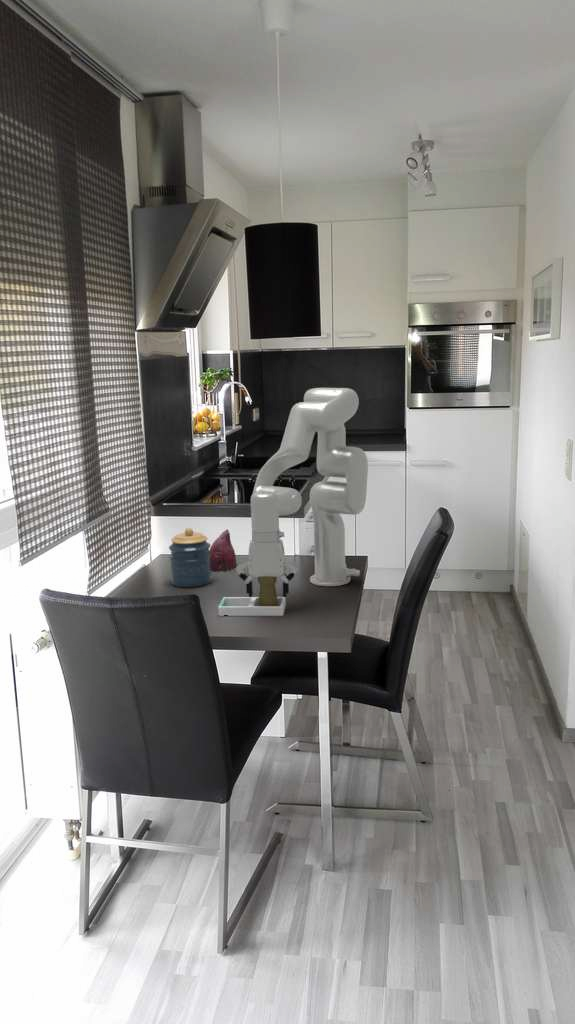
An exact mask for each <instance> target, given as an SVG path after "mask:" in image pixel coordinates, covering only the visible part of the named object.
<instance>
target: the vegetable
mask: <svg viewBox="0 0 575 1024" xmlns="http://www.w3.org/2000/svg"><path fill="white" fill-rule="evenodd" d="M209 553H210V554H211V557H210V559H211V570H212V571H211V572H215V571H224V572H227V570H229V571H232V570H231V569H234V568H236V567H237V566H238V565H237V559H236V558H237V556H236V551H235V550H234V547H233V545H232V541H231V534H230V532H229V530H228V529H226V530H224V531H223V532H222V533H221V534H220V535H219V536H218V537H217V538H216V539H215V540H214V541H213V542H212V544H211V545H210V547H209ZM234 570H235V569H234Z"/></svg>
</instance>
